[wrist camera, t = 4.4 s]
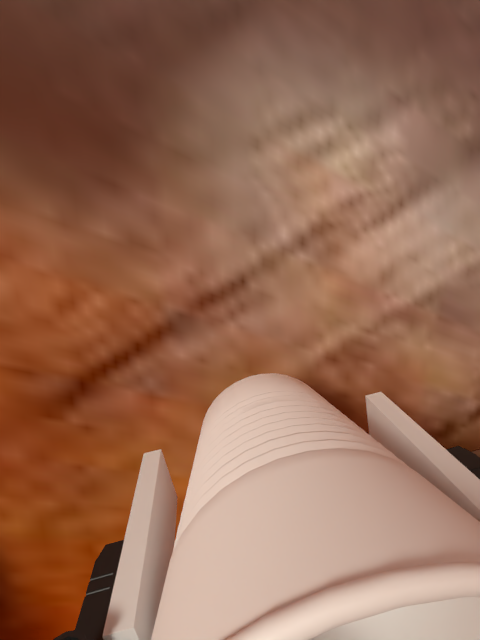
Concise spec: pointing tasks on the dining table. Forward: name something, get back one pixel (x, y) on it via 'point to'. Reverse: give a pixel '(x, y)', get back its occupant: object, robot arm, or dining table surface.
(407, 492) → the cup
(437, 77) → the dining table surface
